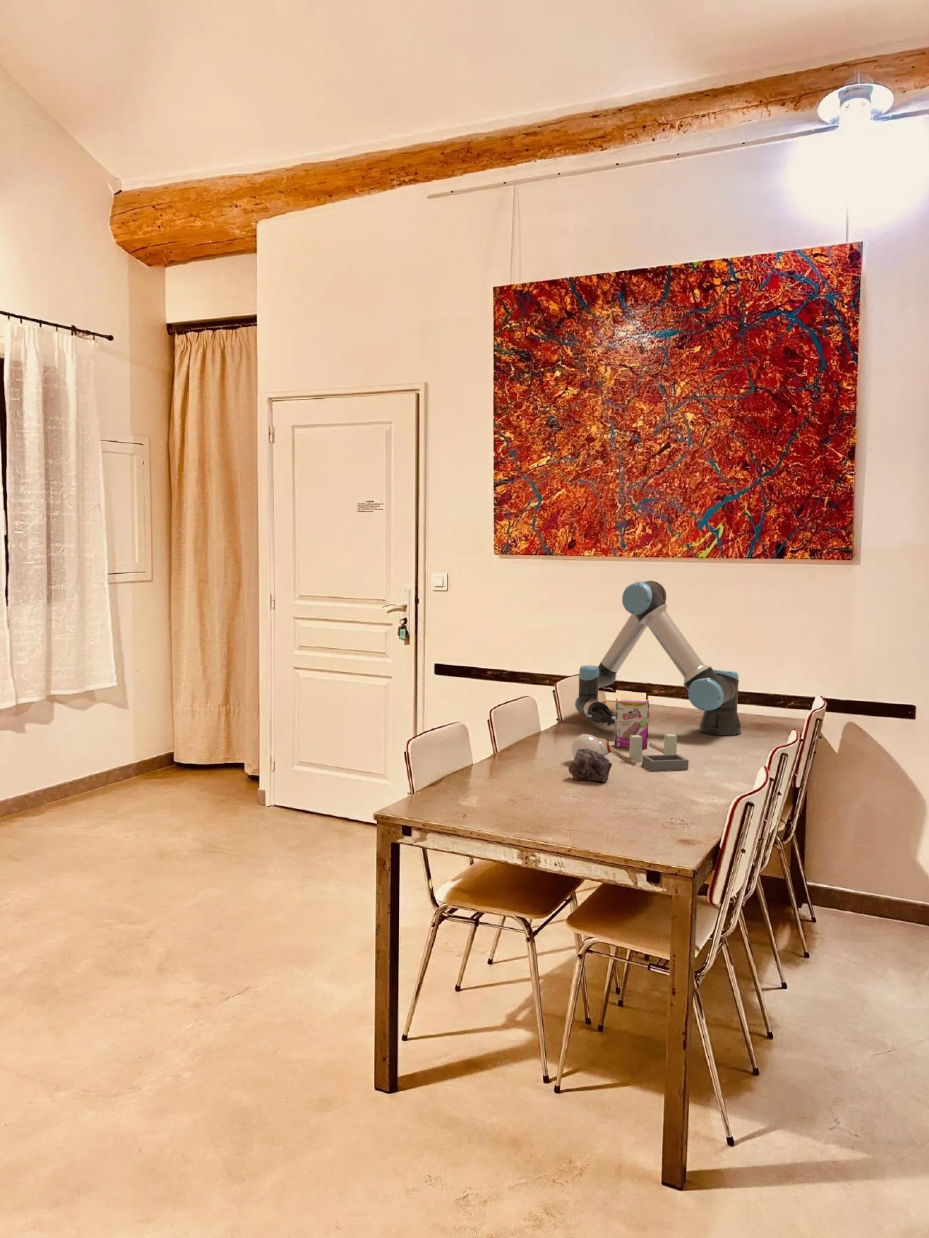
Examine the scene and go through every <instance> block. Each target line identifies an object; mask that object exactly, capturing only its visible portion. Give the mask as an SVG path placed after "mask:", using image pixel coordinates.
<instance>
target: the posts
mask: <svg viewBox="0 0 929 1238" xmlns="http://www.w3.org/2000/svg"><path fill="white" fill-rule="evenodd" d="M663 738H664V740H663V741H664V742H663V743H664V744H663V748H664V752H663V755H669V754H677V752H678V751H677V749H678V748H677V746H678V736H677V735H676V734H675V733H668V734H667V733H665V734H664V737H663ZM628 751H629V754H628V755H629V756H628V757H629V758H631V759H632V760H634V761H636V763H639V762H640V763H642V756H643V753H642V752H643V749H642V737H641V736H639V735H630V748H629V750H628Z"/></svg>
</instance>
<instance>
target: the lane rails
mask: <svg viewBox="0 0 929 1238" xmlns="http://www.w3.org/2000/svg"><path fill="white" fill-rule="evenodd" d="M649 746H652V747H653V748H655V749H656V750H658V751H659V752H662V753H664V746H662V745H659V744H657V743H656V742H653V741H649ZM609 747H610V752H611V753H613V754H615V755H616V756H618V757H620V758H621V759H622V760H624V761H626V762H627V763H629V764H631V765H632V766H637V762H636V761H634V760H632V759H631V758H629V756H628V755H626V754H624V753H623V752H621V751H619V750H617V748H615V747H613V746H611V745H610V744H609Z"/></svg>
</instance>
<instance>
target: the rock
mask: <svg viewBox="0 0 929 1238" xmlns="http://www.w3.org/2000/svg"><path fill="white" fill-rule="evenodd" d="M573 758H574V757H573ZM612 765H613V764H612V762H610V760H609V759H608V758H607V757H606V756H603V755H602V754H599V753H597V752H595V751H591V750H589V749H579V750H578V751H577V753H576V755H575V758H574V759H573V761H572V762H571V764H569V766H568V767H567V768H568V769H567V770H568V772H569V774H570V775H571V776H572V778H573V779H575V780H576V781H588V782H589V781H597V782H600V783H607V781H608V779H609V775H610V770H611V768H612Z"/></svg>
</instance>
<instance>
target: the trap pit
mask: <svg viewBox="0 0 929 1238" xmlns="http://www.w3.org/2000/svg"><path fill="white" fill-rule="evenodd" d="M689 761H690V760H689V759H687V758H685V757H684V756H682V755H680V754H677V753H676V754H669V755H664V754H649V755H647V754H645V755H643V754H642V762H641V765H642V766H643V767H645V768H646V769H648V770H650V771H651V772H661V771H662V772H663V771H664V772H665V771H685V770H687V771H688V770H689Z"/></svg>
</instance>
